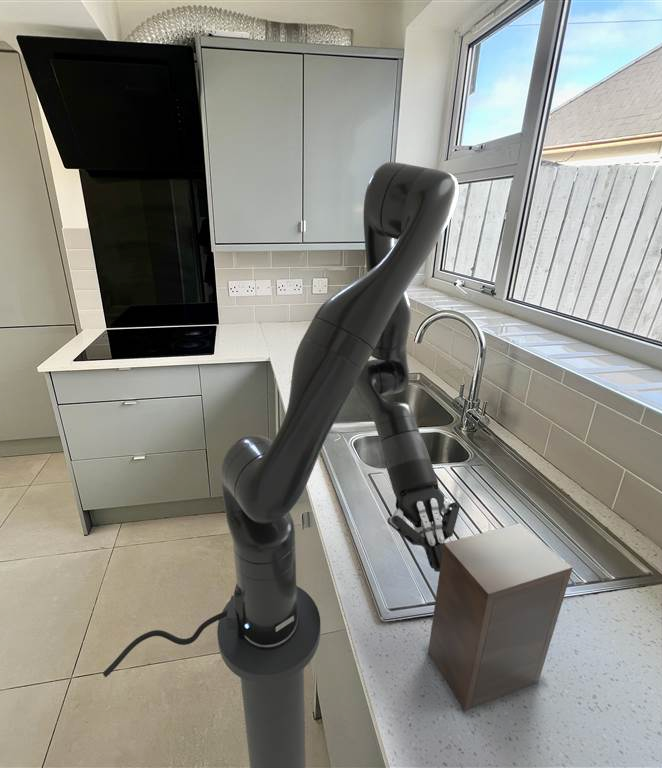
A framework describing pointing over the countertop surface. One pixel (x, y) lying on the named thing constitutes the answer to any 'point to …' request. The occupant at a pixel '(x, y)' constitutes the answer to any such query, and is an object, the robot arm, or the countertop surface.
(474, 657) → the tall brown cuboid
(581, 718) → the countertop surface
